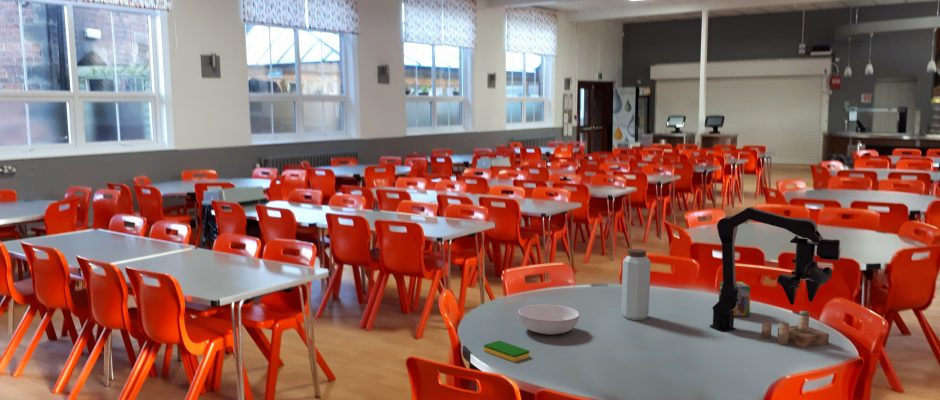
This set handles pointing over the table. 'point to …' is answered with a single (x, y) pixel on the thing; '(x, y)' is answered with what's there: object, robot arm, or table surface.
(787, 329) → the dowel medium
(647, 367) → the table surface
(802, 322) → the dowel long
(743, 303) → the chalk box
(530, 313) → the serving bowl
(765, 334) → the dowel short
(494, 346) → the dish sponge
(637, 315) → the water bottle
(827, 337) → the brown slab
